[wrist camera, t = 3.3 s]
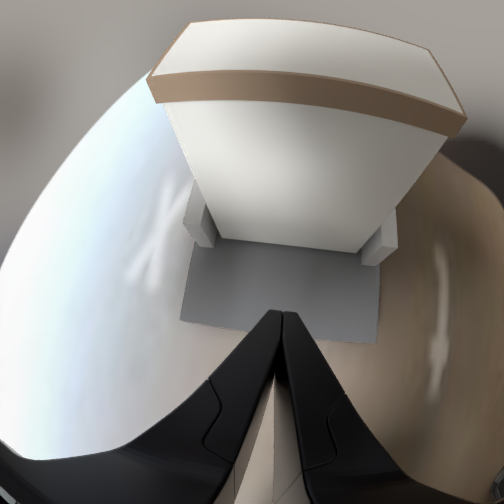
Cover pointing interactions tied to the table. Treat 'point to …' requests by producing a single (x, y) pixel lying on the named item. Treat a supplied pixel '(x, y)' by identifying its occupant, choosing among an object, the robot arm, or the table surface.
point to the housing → (283, 280)
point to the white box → (303, 125)
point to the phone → (498, 487)
